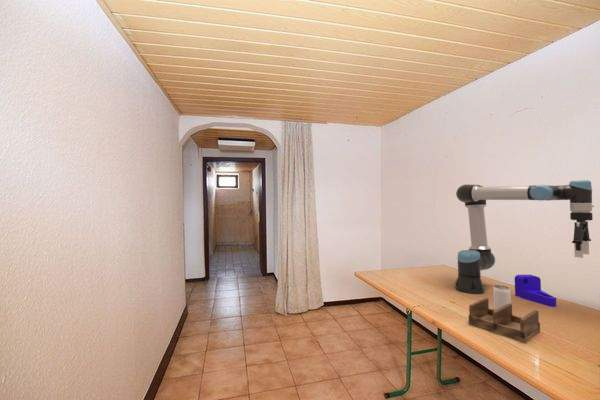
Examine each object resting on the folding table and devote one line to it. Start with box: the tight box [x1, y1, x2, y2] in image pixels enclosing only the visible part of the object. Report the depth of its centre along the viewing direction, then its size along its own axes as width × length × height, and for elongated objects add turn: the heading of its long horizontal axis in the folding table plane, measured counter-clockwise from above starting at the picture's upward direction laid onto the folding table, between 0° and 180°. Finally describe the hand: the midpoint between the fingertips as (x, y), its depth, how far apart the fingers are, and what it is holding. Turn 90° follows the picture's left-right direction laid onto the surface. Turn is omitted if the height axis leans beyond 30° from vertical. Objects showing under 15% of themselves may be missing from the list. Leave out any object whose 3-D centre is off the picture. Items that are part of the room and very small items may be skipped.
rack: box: [468, 297, 541, 344], centre depth 114 cm, size 20×16×8 cm
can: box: [493, 284, 512, 310], centre depth 130 cm, size 6×6×12 cm
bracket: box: [514, 274, 557, 308], centre depth 145 cm, size 18×11×12 cm, turn 1°
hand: (582, 255), depth 131 cm, fingers open, 13 cm apart
